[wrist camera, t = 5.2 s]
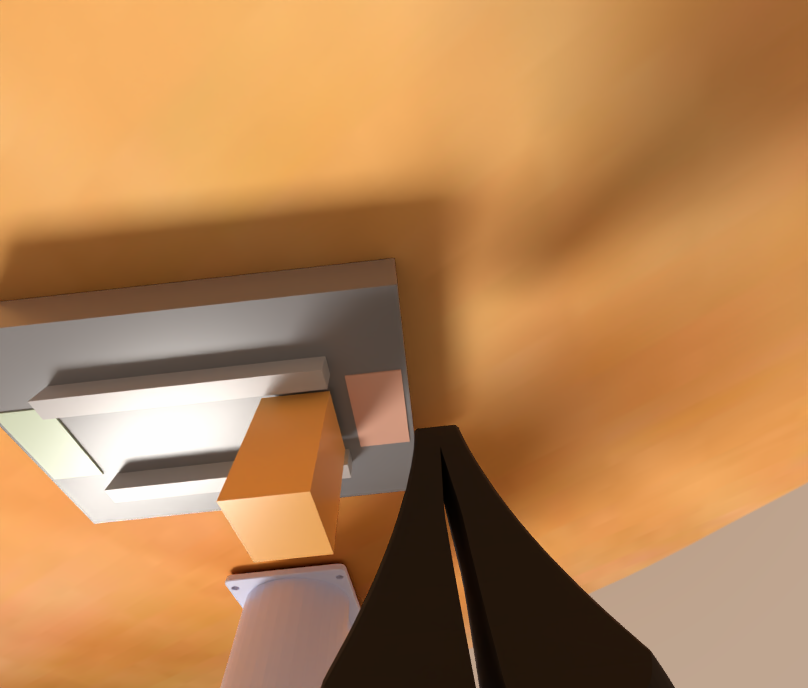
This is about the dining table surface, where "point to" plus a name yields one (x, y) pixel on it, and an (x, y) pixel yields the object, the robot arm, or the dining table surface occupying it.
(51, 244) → the dining table surface
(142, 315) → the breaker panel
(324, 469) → the handle
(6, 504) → the dining table surface
